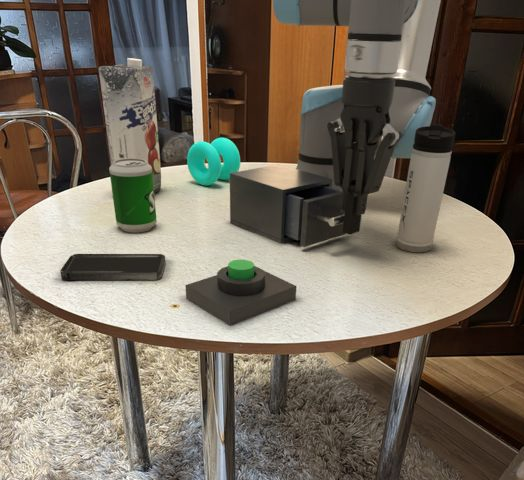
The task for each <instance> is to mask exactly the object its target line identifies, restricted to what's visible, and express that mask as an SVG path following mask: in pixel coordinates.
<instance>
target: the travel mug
mask: <svg viewBox="0 0 524 480" xmlns="http://www.w3.org/2000/svg"><path fill="white" fill-rule="evenodd" d="M455 137H456V131H455V130H453V129H452V128H449V127H445V126H443V124H434V123H431V125H430V126H426V127H420V128H418V129H417V130H416V133H415V138H414V144H413V148H412V151H413V152H412V154H411V158H409V159H410V160H409V165H408V171H407V176H406V183H405V189H404V195H403V199H402V206H401V210H400V211H401V212H400V218H399V223H398V230H397V235H396V241H395V245H396V247H397V248H399V250H400V249H401V250H402V251H406V252H409V253H410V252H411V253H426V252H429V251H430V250H432V246H433V243H434V241H433V240H434V237H435V232H436V230H437V229H436V228H437V224H438V219H439V214H440V210H441V205H442V200H443V196H444V191H445V186H446V181H447V177H448V172H449V168H450V164H451V157H452V153H453V146H454V141H455Z"/></svg>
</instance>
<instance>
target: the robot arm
mask: <svg viewBox="0 0 524 480" xmlns="http://www.w3.org/2000/svg"><path fill="white" fill-rule="evenodd" d="M441 1H442V0H272V6H273V7H272V9H273V13H274V16H275V18H276V20H277V21H278V22H279V23H280V24H282V25H291V26H297V27H301V26H309V27H310V26H316V27H317V26H318V27H319V26H320V27H325V26H326V27H327V26H328V27H348V32H347V41H346V51H345V52H346V53H345V63H344V71H345V72H346V73H347V74H348V75H345V76H344V78H343V79H342V80H343V81H342V84H335V85H325V86H318V87H313V88H309V89H307V90H306V91H305V92H304V93H303V96H302V100H301V101H302V103H301V111H300V112H299V115H300V126H299V143H298V158H297V159H298V161H297V165H296V168H295V169H297V170H301V171H304V172H308V173H312V174H315V175H319V176H323V177H326V178H330V179H332V188H335V189H338V190H339V192H340V191H344V195H343V205H342V209H343V211H345V215H344V224H343V233H346V234H345V235H353V234H356V233H358V232H360V230H361V223H362V215H365V213H366V209H367V202H368V196H369V195H370V194H374V193H378V192H379V191H380V189H381V187H382V183H383V181H384V179H385V174H386V173H387V170H388V167H389V164H390V162H391V158H392V159H394V160H396V159H411V154H412V152H413V151H412V148H413V144H414V138H415V133H416V130H417V129H418V128H420V127H426V126H431V125H432V120H433V116H434V112H435V109H436V103H437V99H436V98H435V97H434V96H432V95H431V90H432V87H431V85H430V84H429V82H428V81H427V79H426V76H427V71H428V66H429V63H430V62H429V61H430V55H431V52H432V46H433V41H434V35H435V31H436V26H437V20H438V17H439V12H440V6H441Z"/></svg>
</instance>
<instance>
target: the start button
mask: <svg viewBox="0 0 524 480" xmlns="http://www.w3.org/2000/svg"><path fill="white" fill-rule="evenodd" d="M227 266H228V277H229V278H231V279H236V280H248V279H251V278H254V266H255V263H254V262H253V261H251V260H248V259H241V258H239V259H233V260H231V261H229V262H228V264H227Z"/></svg>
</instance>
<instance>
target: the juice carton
mask: <svg viewBox="0 0 524 480" xmlns="http://www.w3.org/2000/svg"><path fill="white" fill-rule="evenodd" d="M126 62H127V63H126V64H125V63H124V64H123V63H119V64H115V65H102V66H99V67H98V75H99V80H100V81H99V83H100V89H101V91H100V92H101V97H102V99H101V100H102V105H103V114H104V121H105V129H106V136H107V137H106V138H107V145H108V152H109V160H110V166H111V165H112V164H113V162H114V161H116V160H119V159H126V158H137V159H143V160H146V161H147V163H148V164H149V165H150V166H151V167H152V174H153V185H154V194H156V193H158V192H160V190H161V189H162V167H161V156H160V155H161V153H160V143H159V130H158V118H157V105H156V103H157V102H156V91H155V82H154V72H153V66H151V65H149V64H148V65H145V64H143V60H142V59H139V58H133V57H127V59H126Z"/></svg>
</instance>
